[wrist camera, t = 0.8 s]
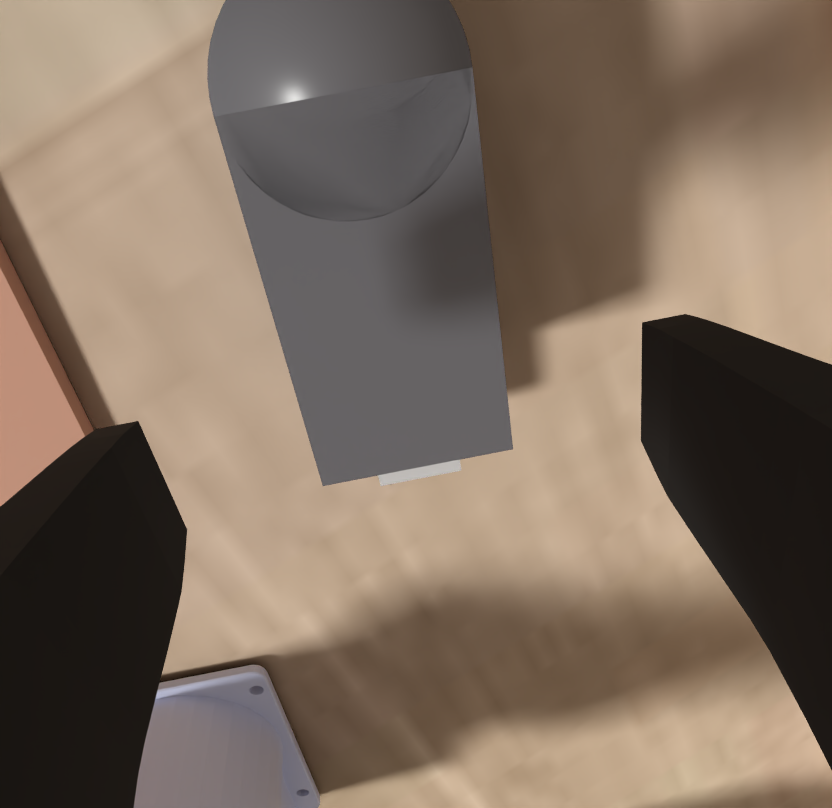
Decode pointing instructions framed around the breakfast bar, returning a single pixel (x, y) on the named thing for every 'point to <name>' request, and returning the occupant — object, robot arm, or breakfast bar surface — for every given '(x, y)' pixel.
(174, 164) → the breakfast bar surface
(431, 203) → the grey round-top block
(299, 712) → the breakfast bar surface
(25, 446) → the rubber mat
